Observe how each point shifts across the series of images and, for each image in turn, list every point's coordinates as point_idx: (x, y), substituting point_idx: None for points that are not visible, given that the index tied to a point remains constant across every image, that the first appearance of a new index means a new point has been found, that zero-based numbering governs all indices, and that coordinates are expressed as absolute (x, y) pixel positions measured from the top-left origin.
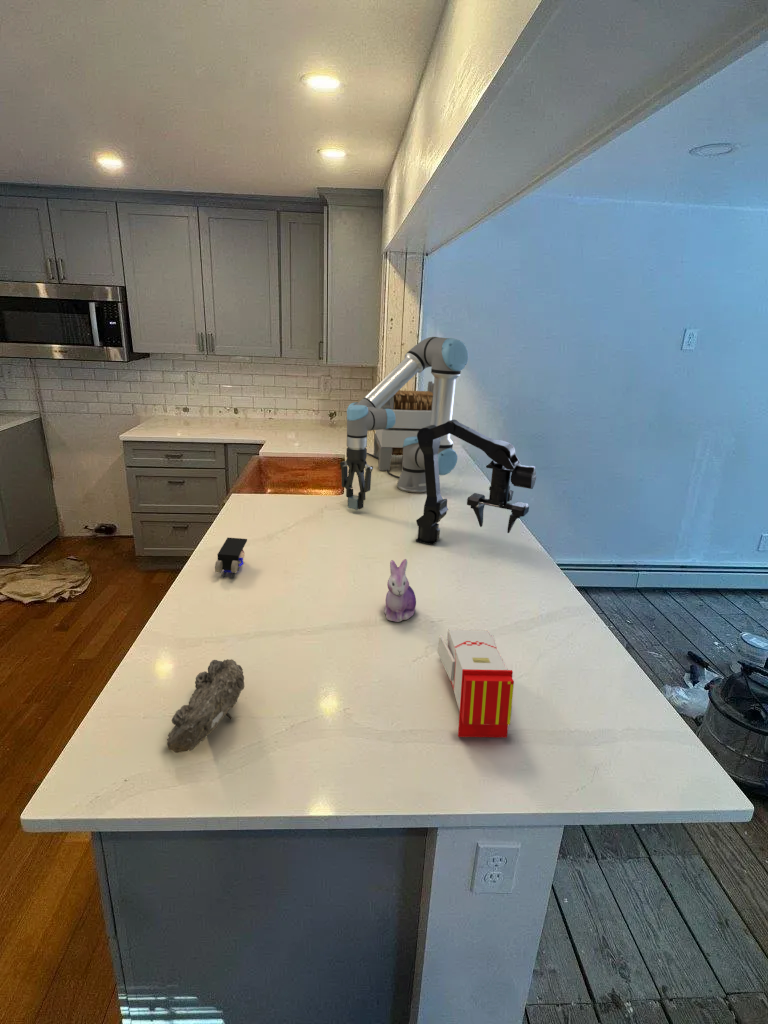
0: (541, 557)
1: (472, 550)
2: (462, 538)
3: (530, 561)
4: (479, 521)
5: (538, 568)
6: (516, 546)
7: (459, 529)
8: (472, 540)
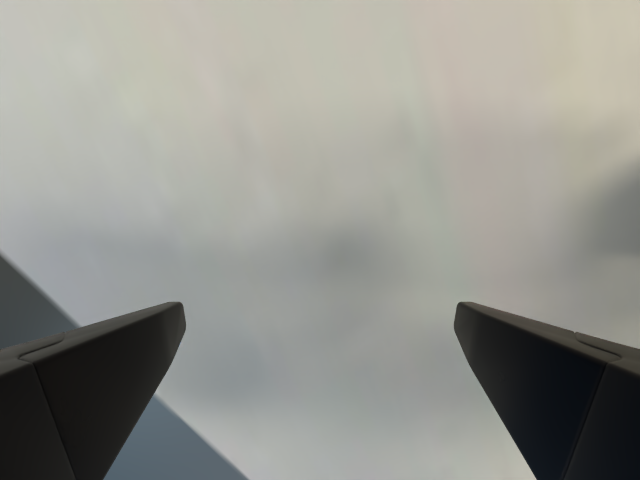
0: None
1: (439, 230)
2: None
3: (119, 272)
4: (509, 318)
5: (40, 211)
6: (256, 393)
7: None
8: None
